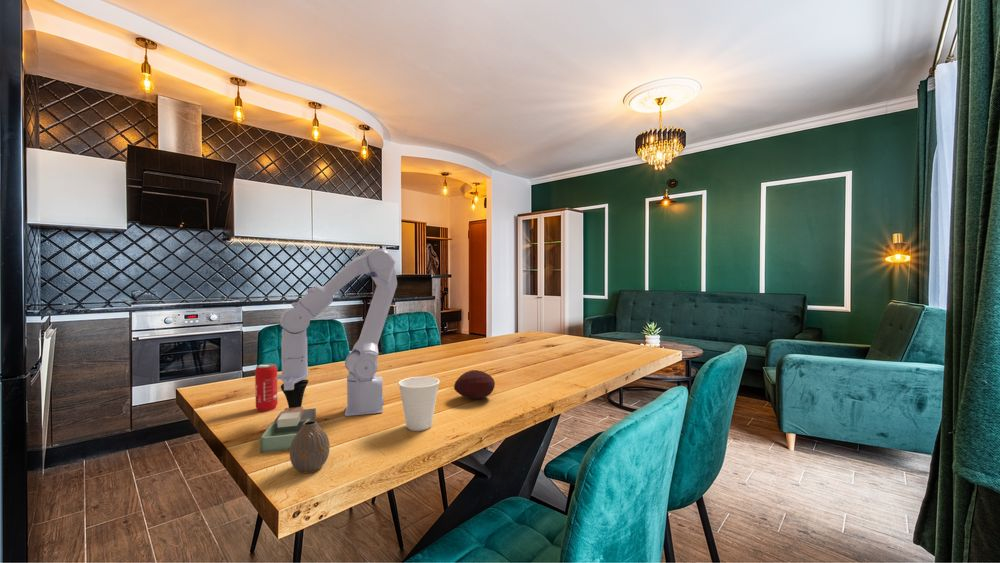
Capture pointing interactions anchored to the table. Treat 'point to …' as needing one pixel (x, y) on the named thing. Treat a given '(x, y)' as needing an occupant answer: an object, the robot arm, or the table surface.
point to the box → (276, 439)
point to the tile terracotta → (294, 410)
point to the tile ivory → (289, 419)
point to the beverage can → (266, 387)
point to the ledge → (306, 415)
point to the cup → (419, 401)
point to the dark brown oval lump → (474, 384)
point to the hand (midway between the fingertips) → (295, 411)
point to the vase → (309, 448)
